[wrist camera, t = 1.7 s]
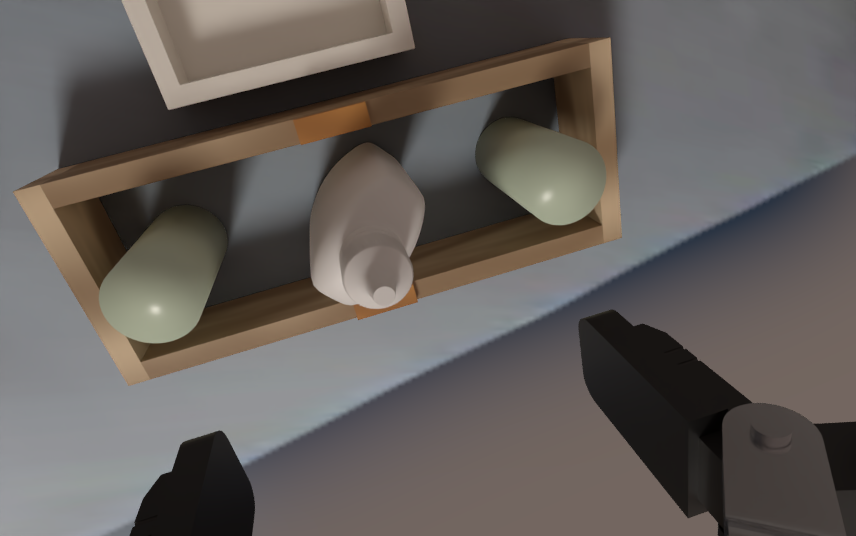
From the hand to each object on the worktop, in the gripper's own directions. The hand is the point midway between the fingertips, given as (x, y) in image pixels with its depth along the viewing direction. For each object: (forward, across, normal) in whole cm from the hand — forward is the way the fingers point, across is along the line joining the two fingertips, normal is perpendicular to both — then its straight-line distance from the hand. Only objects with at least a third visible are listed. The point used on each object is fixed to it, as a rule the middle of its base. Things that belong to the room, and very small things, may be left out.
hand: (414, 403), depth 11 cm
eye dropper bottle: (+17, 0, 0) cm, 17 cm away
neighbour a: (+17, +8, 0) cm, 19 cm away
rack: (+17, 0, 0) cm, 17 cm away
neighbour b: (+17, -8, 0) cm, 19 cm away
